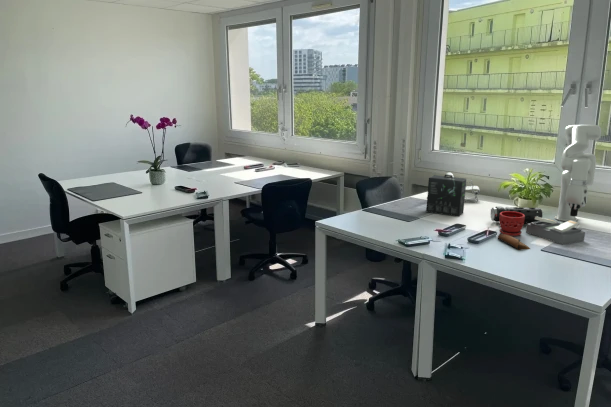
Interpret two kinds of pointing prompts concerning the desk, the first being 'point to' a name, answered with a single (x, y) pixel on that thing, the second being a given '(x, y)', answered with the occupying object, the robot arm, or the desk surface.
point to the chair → (469, 187)
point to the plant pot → (511, 223)
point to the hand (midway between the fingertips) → (573, 215)
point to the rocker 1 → (545, 220)
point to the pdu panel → (555, 232)
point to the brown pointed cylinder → (513, 242)
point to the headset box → (446, 195)
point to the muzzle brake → (528, 212)
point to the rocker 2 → (566, 226)
